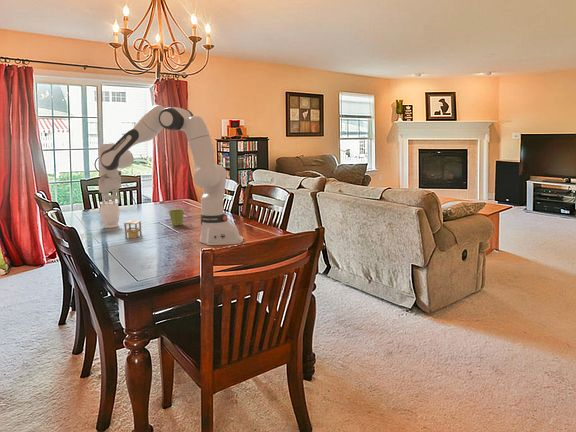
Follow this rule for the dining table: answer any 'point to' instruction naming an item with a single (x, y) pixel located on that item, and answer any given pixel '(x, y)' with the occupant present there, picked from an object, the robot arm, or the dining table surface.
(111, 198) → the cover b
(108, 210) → the jar
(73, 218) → the dining table surface
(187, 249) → the dining table surface
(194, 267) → the dining table surface
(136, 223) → the tan square stool
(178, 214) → the plant pot
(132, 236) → the letter block
